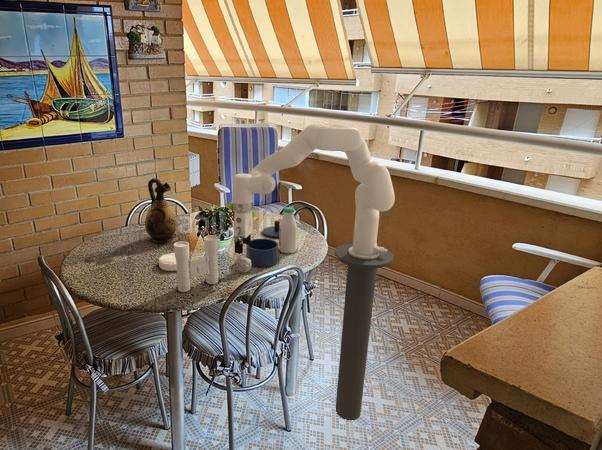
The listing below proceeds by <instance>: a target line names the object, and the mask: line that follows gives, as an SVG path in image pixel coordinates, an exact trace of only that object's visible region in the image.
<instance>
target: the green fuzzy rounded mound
mask: <svg viewBox="0 0 602 450" xmlns="http://www.w3.org/2000/svg"><path fill="white" fill-rule="evenodd" d="M227 207H229V208H230V209H231V210H232V213H233V218H232V220H233V221H232V220H231V221H232V222H234V216H235V212H234V211H233V200H232V201H230V202H229V203H227V204H226V208H227ZM252 216H253V219H254V218H255V216H256V211H255V208H254V207H253V211H252Z"/></svg>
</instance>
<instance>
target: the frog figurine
mask: <svg viewBox="0 0 602 450" xmlns="http://www.w3.org/2000/svg"><path fill="white" fill-rule="evenodd" d="M234 262H235V265H236V266H237V269H238V270H239V272H241V273H247V272H249V271H250V269H251V267H252V263H251V260H250V259H248V258H246V256H244V255H241V256H240V255H238V256H237V258H236V259H235V261H234Z"/></svg>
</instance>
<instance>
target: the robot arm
mask: <svg viewBox="0 0 602 450" xmlns="http://www.w3.org/2000/svg"><path fill="white" fill-rule="evenodd" d="M315 150H319V151H325V152H326V151H327V152H344V154H345V155H346V159H347V161H348V164H349V168H350V171H351V175H352V177H353V180H355V181H356V182H358V183H360V184H359V185H357V187H356V189H355V192H354V203H355V218H354V225H353V226H354V227H353V238H352V243H353V247H351V248H350V249H349V251H348V252H349V254H350V255H351V256H353V257H356V258H359V259H375V258H377V257H378V256H379V253H385V254H387V250H388V249H387V248H385V247H383V246H379V245H378V243H377V240H378V234H379V233H378V231H379V224H380V223H379V222H380V212H387V211H389V210H391V209H392V207H393V206H394V205H395V201H396V200H395V199H396V196H395V190H394V186H393V182H392V178H391V174H390V171H389V170H388V168H387V166H385V165H384V164H383V163H380V162H378V161H375V160H373V158H372V155H371V152H370V149H369V147H368V144H367V142H366V140H365V139H364V136H363V133H362V131H361V130H359V129H358V128H357V127H353V126H348V125H345V124H340V123H336V124H332V125H330V126H326V125H321V124H316V123H315V124H314V123H313V124H309V125H307V126H306V127H305V128H303V129H302V130H301V131H299V133H298V134H297V135H295V137H293V138H292V139H291V140H290V141H289V142H288V143H287V144H286V145H285V146H284V147H283V148H281V149H279V150H277V151H275V152H273V153H272V154H270V155H268V156H267V157H265V158H264V159H262V160H261V161H260V162H258V164H256V165H255V166H254V167H253V168H252V169H251V170H250V172H249V173H236V174H234V175H233V176H232V201H233V211H234V212H235V216H234V221H233V244H234V253H235V254H242V255H243V253H244V245H246V244H249V245H250V244H251V240H252V239H251V238H252V232H253V231H254V221H253V219H254V218H253V216H252V211H253V208H254V195H255V194H256V195H257V194H258V195H268V194H271V193H272V192H274V190H275V188H276V180H275V178H274V177H273V175H274V174H276V173H278V172H279V171H282V170H286V169H289V168H290V169H291V168H294V167H297V166H298V165H300V164H301V163H302V162H303V161H304V160H305V159H306V158H307V157H309V156H310V155H311V154H312V153H313V152H314V151H315ZM378 246H379V247H378Z"/></svg>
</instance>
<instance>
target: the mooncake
mask: <svg viewBox="0 0 602 450" xmlns="http://www.w3.org/2000/svg"><path fill="white" fill-rule="evenodd" d="M158 266H159V268H160V269H161V270H163V271H167V272H177V268H176V258H175V253H174V252H170V253H165V254H163V255H161V256H160V257H159V258H158Z"/></svg>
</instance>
